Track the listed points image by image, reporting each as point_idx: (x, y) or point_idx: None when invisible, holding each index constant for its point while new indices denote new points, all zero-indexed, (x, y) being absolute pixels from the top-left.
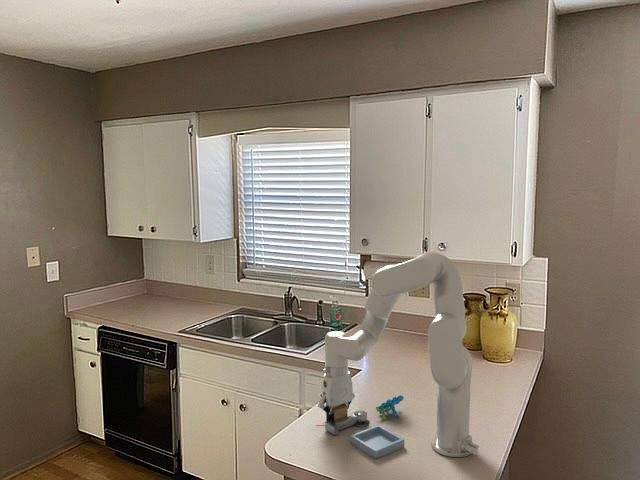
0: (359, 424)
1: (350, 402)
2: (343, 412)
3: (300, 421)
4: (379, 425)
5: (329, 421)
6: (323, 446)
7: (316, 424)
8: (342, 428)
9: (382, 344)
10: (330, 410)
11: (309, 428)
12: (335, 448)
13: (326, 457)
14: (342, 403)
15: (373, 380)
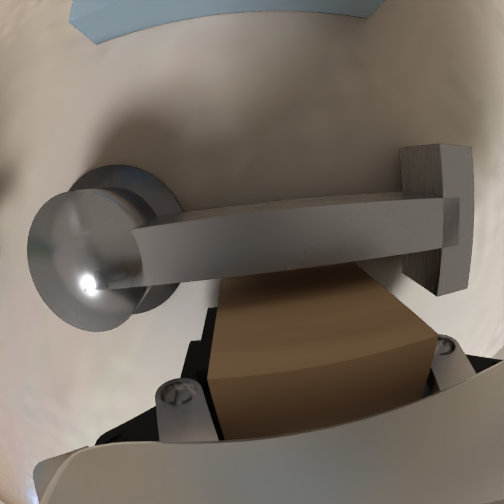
0: None
1: (117, 432)
2: (284, 330)
3: None
4: (71, 12)
5: (448, 271)
6: (495, 110)
7: None
8: (333, 196)
9: (7, 498)
10: (463, 359)
11: (455, 329)
12: (458, 49)
13: (498, 39)
14: (361, 423)
15: (11, 463)
